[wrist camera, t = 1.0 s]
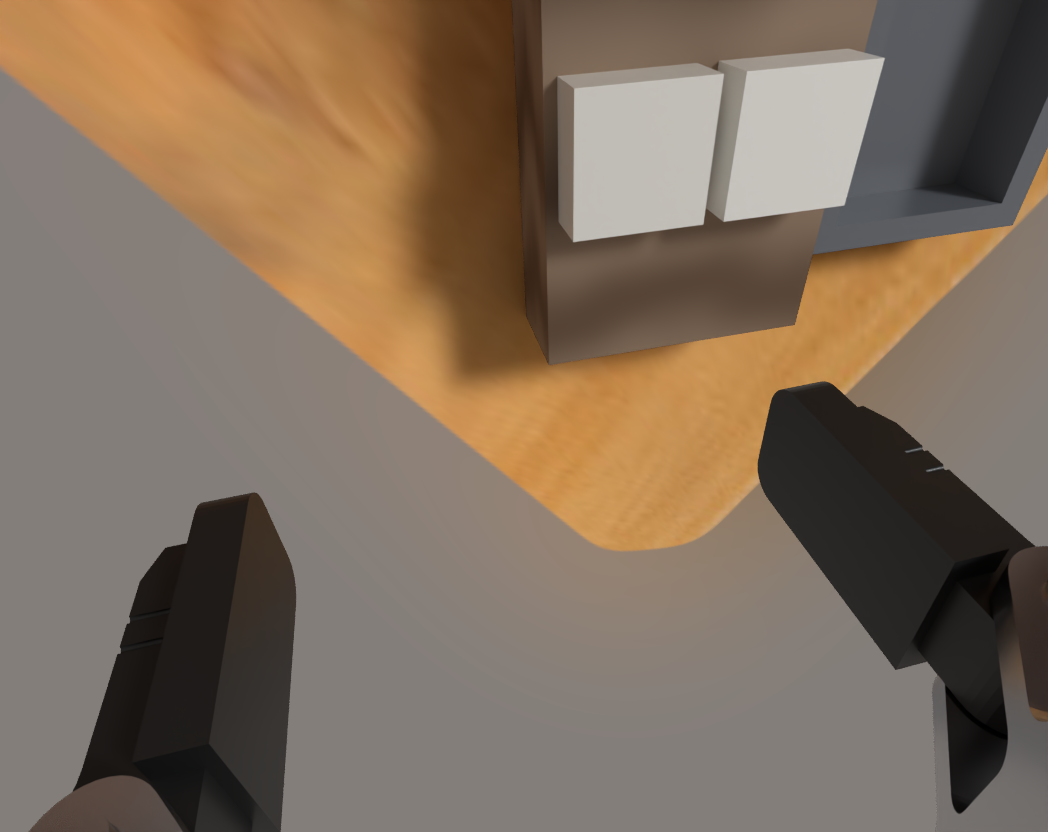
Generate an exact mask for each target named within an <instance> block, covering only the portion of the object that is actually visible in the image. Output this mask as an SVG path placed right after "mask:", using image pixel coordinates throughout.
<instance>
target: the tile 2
mask: <svg viewBox="0 0 1048 832" xmlns="http://www.w3.org/2000/svg"><path fill="white" fill-rule="evenodd" d="M884 59H885V58H883V57H879V56H875V55H872V54H868V53H864V52H860V51H856V50H852V49H839V50H828V51H818V52H807V53H796V54H786V55H775V56H765V57H754V58H744V59H733V60H723V61H719V63H718V71H719V72H721V73H724V78H723V85H722V93H721V100H720V107H719V115H718V122H717V129H716V136H715V144H714V151H713V158H712V166H711V173H710V180H709V187H708V195H707V202H706V208H707V209H708V210H709V211H710V212H712V213H713V214H714V215H715V216H717V217H718V218H719V219H720V220H722V221H723V222H726V221H733V220H741V219H748V218H756V217H763V216H770V215H778V214H785V213H793V212H800V211H807V210H815V209H822V208H830V207H837V206H844V205H845V202H846V198H847V194H848V191H849V187H850V183H851V180H852V176H853V172H854V169H855V165H856V161H857V158H858V154H859V151H860V147H861V143H862V140H863V136H864V132H865V129H866V125H867V121H868V118H869V114H870V110H871V107H872V103H873V100H874V96H875V92H876V89H877V85H878V81H879V78H880V74H881V70H882V67H883V63H884Z"/></svg>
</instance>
